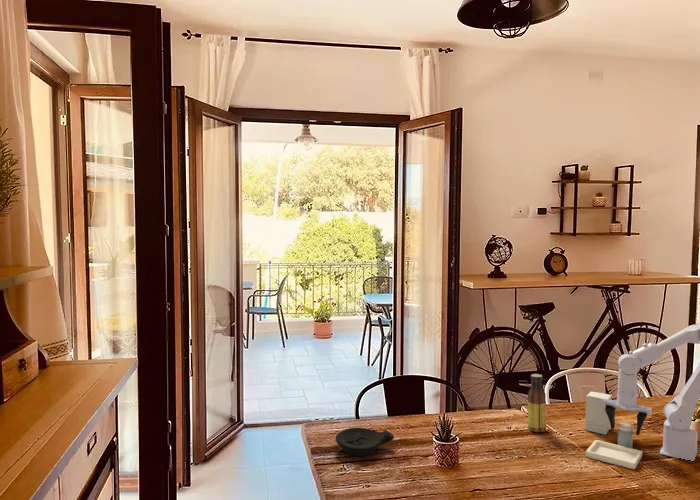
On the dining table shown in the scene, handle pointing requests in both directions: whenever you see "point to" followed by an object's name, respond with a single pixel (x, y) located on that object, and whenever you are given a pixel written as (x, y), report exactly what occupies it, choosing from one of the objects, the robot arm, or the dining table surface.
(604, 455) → the tray
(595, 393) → the supplement box
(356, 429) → the oil lamp
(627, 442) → the cylinder
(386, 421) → the dining table surface
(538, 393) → the sauce bottle
